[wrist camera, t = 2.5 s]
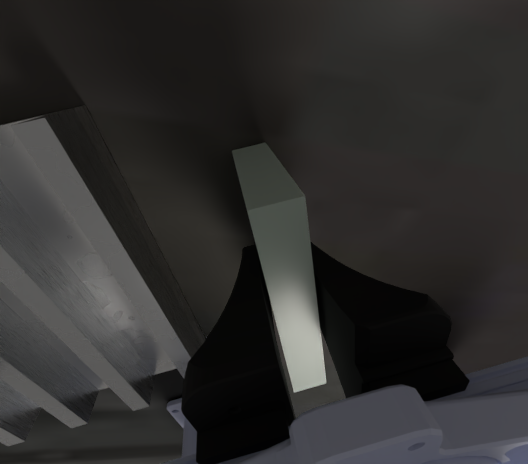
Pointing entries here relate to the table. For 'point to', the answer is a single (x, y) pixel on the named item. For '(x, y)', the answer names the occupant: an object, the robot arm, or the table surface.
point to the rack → (78, 279)
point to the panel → (284, 259)
